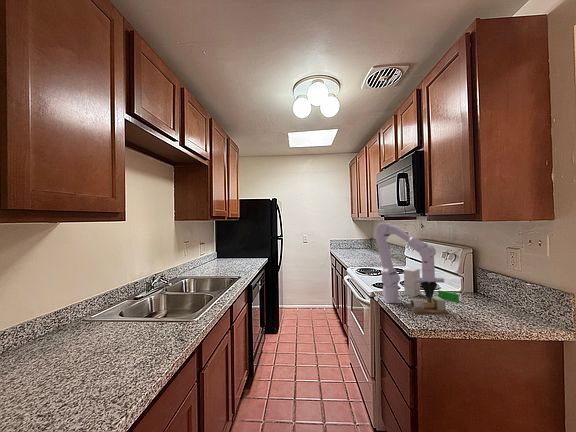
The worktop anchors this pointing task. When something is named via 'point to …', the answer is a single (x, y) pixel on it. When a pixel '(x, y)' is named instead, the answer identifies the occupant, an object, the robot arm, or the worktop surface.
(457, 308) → the worktop surface
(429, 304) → the light wooden block
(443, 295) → the green block
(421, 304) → the white cardboard cube
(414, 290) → the skincare box
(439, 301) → the socket block
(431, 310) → the walnut board
